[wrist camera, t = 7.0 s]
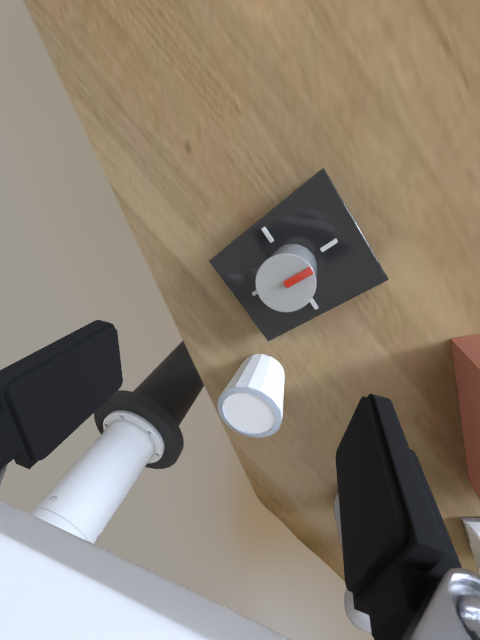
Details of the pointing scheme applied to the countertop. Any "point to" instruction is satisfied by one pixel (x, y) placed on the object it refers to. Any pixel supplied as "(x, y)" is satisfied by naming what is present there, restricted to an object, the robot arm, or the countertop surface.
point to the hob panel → (312, 233)
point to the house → (469, 400)
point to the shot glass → (254, 397)
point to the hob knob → (287, 278)
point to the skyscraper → (473, 536)
